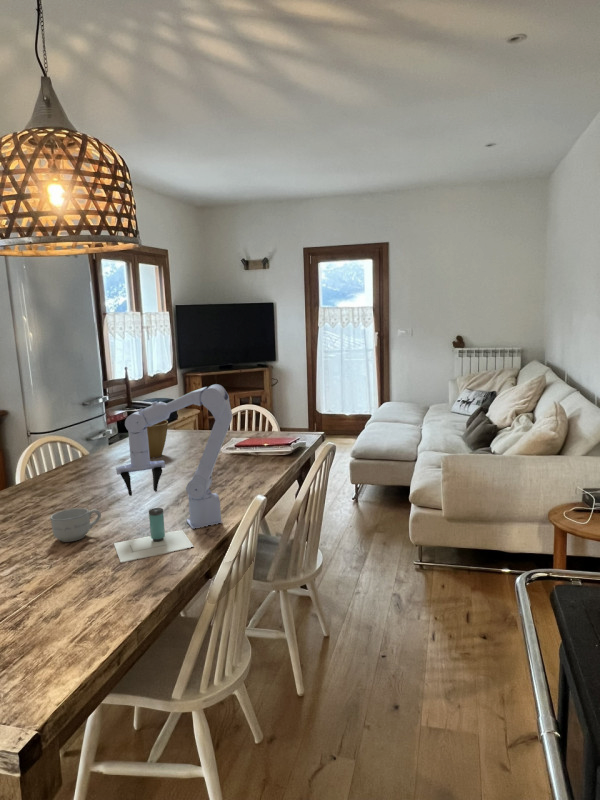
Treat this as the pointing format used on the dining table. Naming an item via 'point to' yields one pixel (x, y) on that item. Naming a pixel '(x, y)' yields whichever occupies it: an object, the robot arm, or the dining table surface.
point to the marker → (157, 524)
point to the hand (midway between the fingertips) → (143, 492)
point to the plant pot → (157, 438)
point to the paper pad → (151, 546)
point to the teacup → (72, 523)
